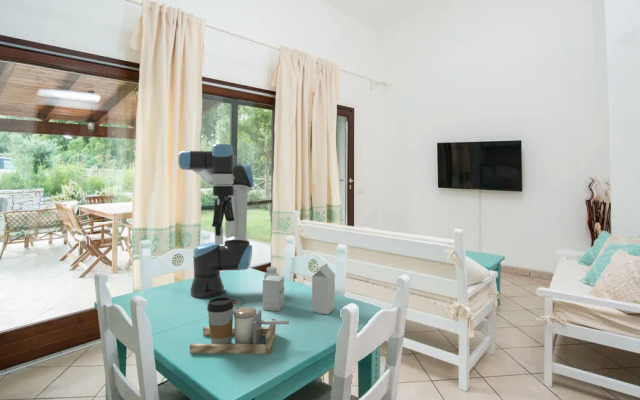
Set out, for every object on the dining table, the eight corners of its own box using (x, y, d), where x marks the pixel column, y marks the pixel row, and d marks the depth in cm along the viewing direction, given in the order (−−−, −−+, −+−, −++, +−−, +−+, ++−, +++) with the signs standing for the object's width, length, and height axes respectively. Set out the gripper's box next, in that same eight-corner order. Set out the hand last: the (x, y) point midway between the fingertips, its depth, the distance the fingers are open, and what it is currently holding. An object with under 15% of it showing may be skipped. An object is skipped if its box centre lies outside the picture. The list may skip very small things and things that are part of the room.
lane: (189, 353, 110) (189, 336, 110) (204, 333, 124) (203, 318, 123) (269, 353, 110) (269, 336, 110) (275, 334, 123) (275, 318, 123)
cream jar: (229, 345, 115) (229, 313, 114) (243, 336, 122) (242, 305, 121) (248, 350, 112) (247, 317, 111) (261, 340, 119) (260, 309, 118)
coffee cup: (210, 339, 119) (209, 297, 118) (235, 338, 120) (234, 295, 119) (206, 352, 111) (204, 306, 110) (233, 350, 112) (232, 304, 111)
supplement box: (279, 311, 144) (279, 281, 143) (262, 309, 145) (262, 280, 144) (284, 304, 151) (284, 275, 150) (268, 303, 153) (268, 274, 152)
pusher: (252, 350, 111) (252, 322, 111) (258, 335, 122) (258, 310, 121) (287, 350, 111) (287, 323, 111) (290, 335, 122) (290, 310, 121)
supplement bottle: (267, 298, 159) (266, 270, 158) (262, 293, 165) (262, 266, 164) (280, 295, 162) (280, 268, 161) (275, 291, 168) (275, 265, 167)
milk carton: (334, 308, 146) (334, 264, 145) (327, 315, 140) (328, 268, 139) (319, 306, 149) (319, 262, 148) (312, 312, 143) (312, 266, 142)
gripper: (223, 186, 120) (225, 247, 122) (240, 184, 145) (241, 234, 147) (202, 186, 120) (203, 247, 122) (222, 184, 145) (223, 234, 147)
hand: (224, 240), depth 134 cm, fingers open, 13 cm apart
